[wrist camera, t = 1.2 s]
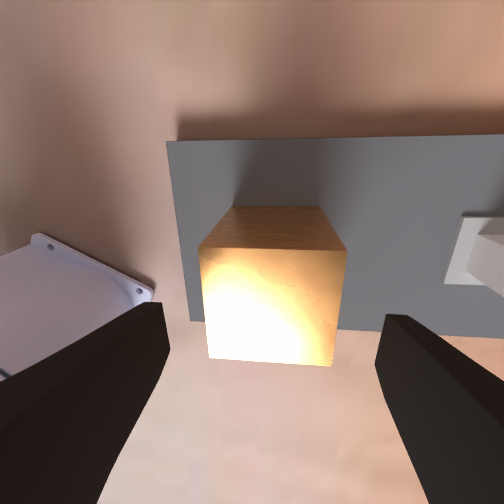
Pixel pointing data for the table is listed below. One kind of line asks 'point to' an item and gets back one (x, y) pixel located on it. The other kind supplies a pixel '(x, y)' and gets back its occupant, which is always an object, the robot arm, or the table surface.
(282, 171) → the mat
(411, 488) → the table surface
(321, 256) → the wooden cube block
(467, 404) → the robot arm
